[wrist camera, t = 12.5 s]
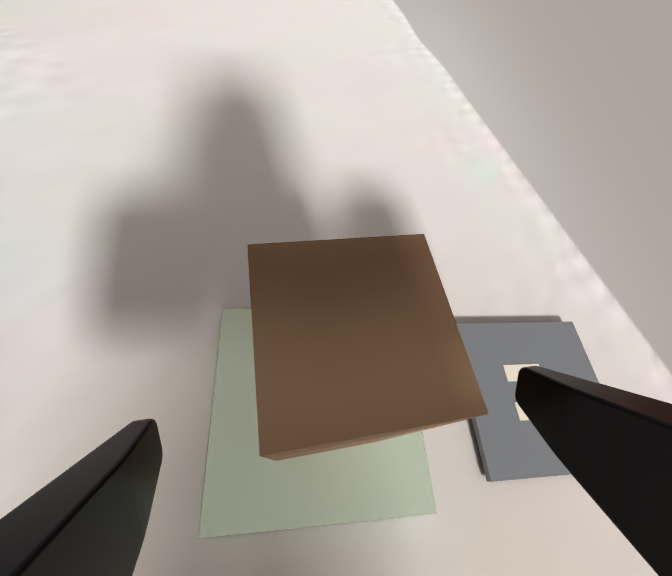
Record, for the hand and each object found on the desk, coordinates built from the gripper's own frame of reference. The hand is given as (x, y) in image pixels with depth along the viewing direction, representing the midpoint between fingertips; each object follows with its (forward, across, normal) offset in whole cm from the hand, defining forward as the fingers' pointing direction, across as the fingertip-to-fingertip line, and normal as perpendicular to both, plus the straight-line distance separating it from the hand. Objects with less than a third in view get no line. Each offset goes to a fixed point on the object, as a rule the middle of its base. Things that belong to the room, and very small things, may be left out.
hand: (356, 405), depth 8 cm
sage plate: (+7, 0, +5) cm, 9 cm away
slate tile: (+7, -12, +6) cm, 15 cm away
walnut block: (+7, 0, +5) cm, 9 cm away
